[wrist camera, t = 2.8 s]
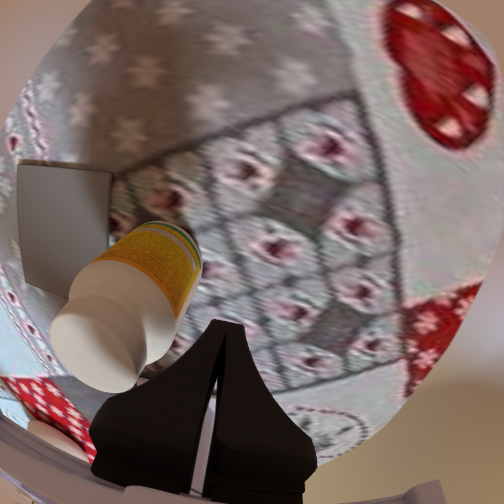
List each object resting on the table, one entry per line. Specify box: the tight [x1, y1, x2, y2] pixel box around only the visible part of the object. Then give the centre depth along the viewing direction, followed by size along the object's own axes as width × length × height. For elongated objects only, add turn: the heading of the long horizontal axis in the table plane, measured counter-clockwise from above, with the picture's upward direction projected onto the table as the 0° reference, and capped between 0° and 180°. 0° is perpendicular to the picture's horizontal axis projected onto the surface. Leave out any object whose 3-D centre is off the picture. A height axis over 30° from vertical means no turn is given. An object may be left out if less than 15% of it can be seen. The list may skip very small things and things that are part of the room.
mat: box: [17, 164, 112, 298], centre depth 18 cm, size 10×9×1 cm
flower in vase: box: [16, 420, 89, 504], centre depth 19 cm, size 13×11×25 cm
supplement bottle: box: [49, 221, 202, 393], centre depth 14 cm, size 5×5×10 cm
